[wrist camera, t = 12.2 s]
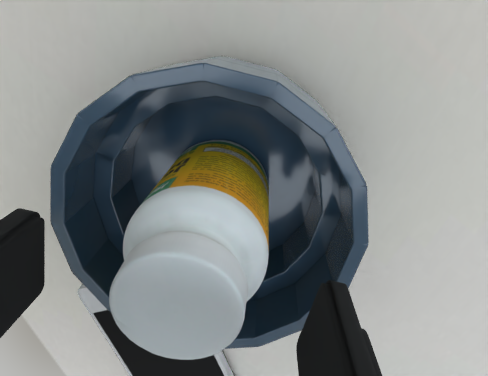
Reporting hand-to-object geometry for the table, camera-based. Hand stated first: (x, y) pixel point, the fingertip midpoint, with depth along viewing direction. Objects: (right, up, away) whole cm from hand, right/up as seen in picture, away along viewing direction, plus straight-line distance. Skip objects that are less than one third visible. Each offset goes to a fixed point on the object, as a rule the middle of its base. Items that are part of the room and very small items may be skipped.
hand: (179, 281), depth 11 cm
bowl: (+1, +4, +8) cm, 9 cm away
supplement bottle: (+1, +3, +7) cm, 8 cm away
